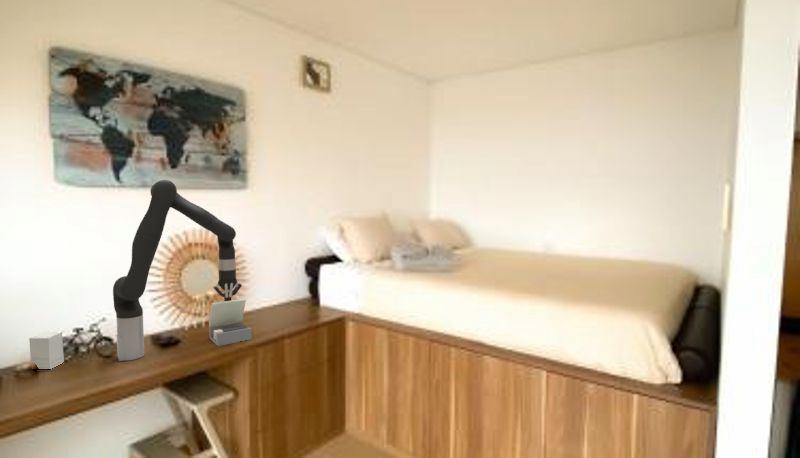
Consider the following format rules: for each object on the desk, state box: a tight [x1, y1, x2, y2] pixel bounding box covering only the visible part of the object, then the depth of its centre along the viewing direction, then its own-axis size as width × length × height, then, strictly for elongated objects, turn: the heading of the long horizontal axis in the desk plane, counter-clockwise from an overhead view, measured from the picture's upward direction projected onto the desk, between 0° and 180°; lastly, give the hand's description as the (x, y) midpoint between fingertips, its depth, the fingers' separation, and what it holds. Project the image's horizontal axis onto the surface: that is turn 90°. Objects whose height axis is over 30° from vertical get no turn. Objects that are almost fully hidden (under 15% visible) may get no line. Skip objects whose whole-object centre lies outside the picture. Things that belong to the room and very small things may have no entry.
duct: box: [208, 321, 253, 347], centre depth 204 cm, size 15×13×5 cm
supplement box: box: [28, 331, 65, 370], centre depth 169 cm, size 7×7×13 cm
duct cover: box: [208, 298, 247, 327], centre depth 206 cm, size 15×13×1 cm
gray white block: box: [213, 325, 248, 341], centre depth 204 cm, size 4×14×4 cm, turn 128°
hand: (228, 304), depth 206 cm, fingers closed
